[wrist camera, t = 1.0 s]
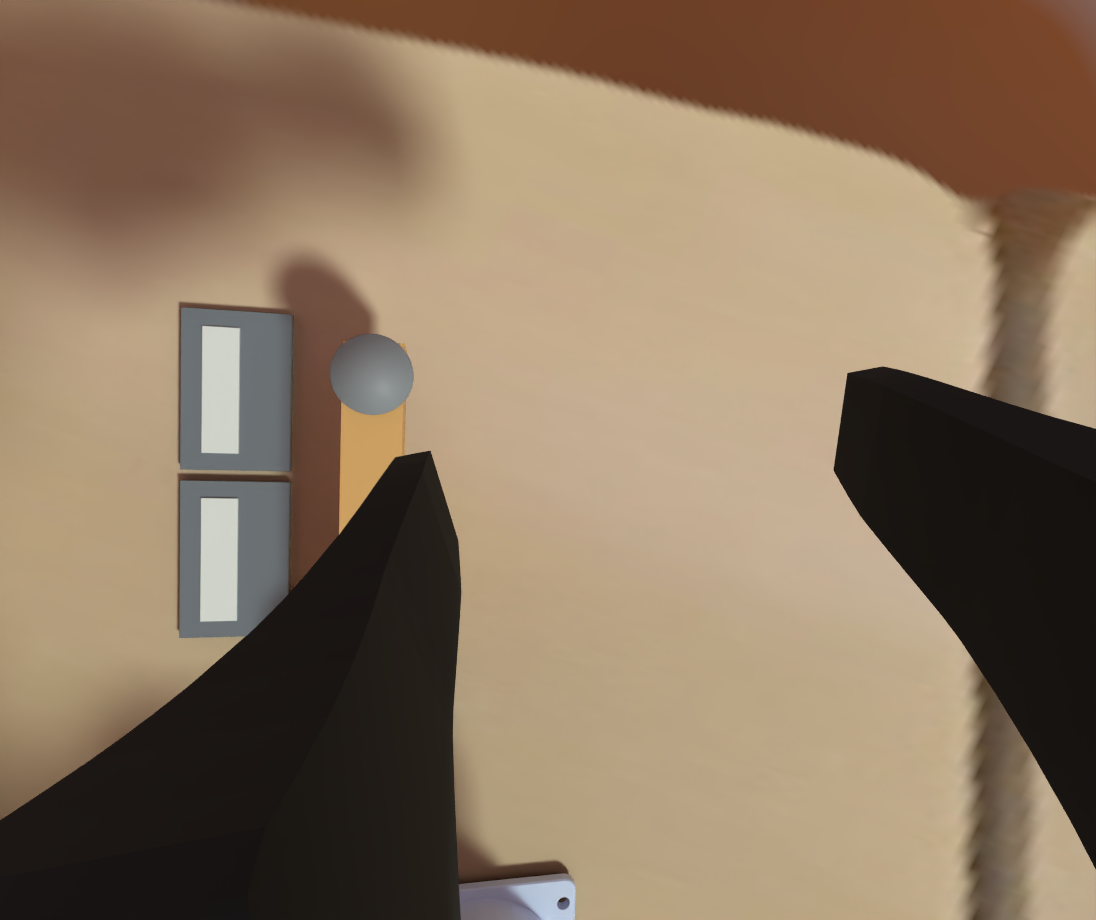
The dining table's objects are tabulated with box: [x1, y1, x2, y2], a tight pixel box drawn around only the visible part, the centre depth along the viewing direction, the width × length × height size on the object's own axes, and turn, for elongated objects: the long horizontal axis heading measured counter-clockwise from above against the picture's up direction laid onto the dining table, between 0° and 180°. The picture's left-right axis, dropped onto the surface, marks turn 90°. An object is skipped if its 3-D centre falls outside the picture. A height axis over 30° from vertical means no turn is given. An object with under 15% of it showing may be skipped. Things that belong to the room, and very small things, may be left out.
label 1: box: [180, 307, 294, 472], centre depth 22 cm, size 6×4×1 cm, turn 178°
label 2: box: [179, 480, 291, 638], centre depth 22 cm, size 6×4×1 cm, turn 178°
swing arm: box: [330, 334, 414, 534], centre depth 20 cm, size 14×3×2 cm, turn 178°
